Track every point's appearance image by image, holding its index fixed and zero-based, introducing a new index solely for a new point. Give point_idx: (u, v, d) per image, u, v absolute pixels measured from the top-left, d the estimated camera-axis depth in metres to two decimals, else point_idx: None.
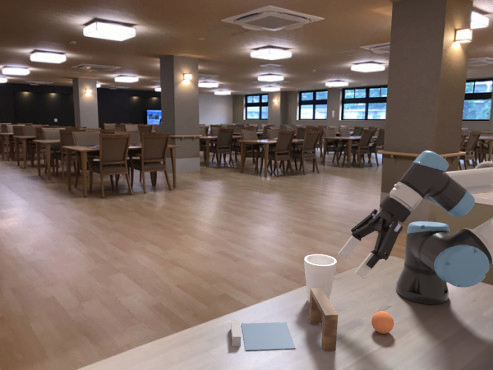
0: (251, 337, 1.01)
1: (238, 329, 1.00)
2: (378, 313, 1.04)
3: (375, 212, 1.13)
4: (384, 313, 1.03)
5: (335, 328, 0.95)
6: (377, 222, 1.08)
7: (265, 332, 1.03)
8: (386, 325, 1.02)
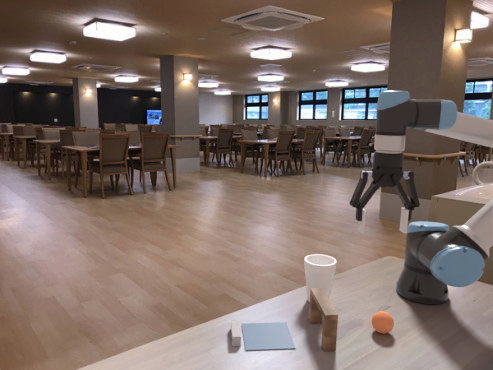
0: (251, 337, 1.01)
1: (238, 329, 1.00)
2: (378, 313, 1.04)
3: None
4: (384, 313, 1.03)
5: (335, 328, 0.95)
6: None
7: (265, 332, 1.03)
8: (386, 325, 1.02)
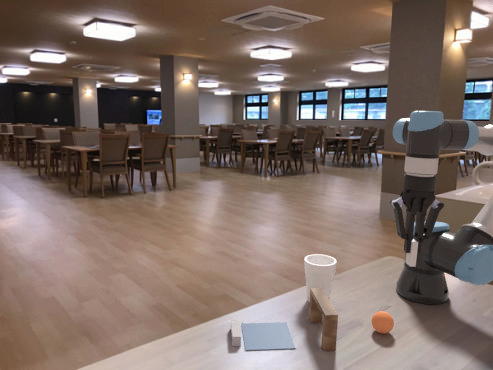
0: (251, 337, 1.01)
1: (238, 329, 1.00)
2: (378, 313, 1.04)
3: None
4: (384, 313, 1.03)
5: (335, 328, 0.95)
6: None
7: (265, 332, 1.03)
8: (386, 325, 1.02)
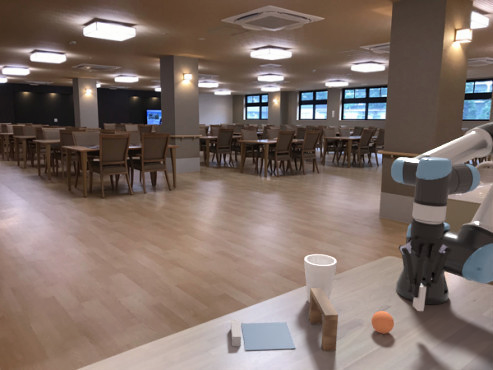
0: (251, 337, 1.01)
1: (238, 329, 1.00)
2: (378, 313, 1.04)
3: None
4: (384, 313, 1.03)
5: (335, 328, 0.95)
6: None
7: (265, 332, 1.03)
8: (386, 325, 1.02)
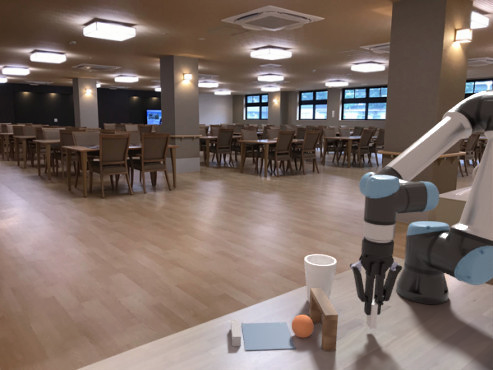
0: (251, 337, 1.01)
1: (238, 329, 1.00)
2: None
3: None
4: (293, 323, 1.01)
5: (335, 328, 0.95)
6: None
7: (265, 332, 1.03)
8: (302, 332, 0.99)
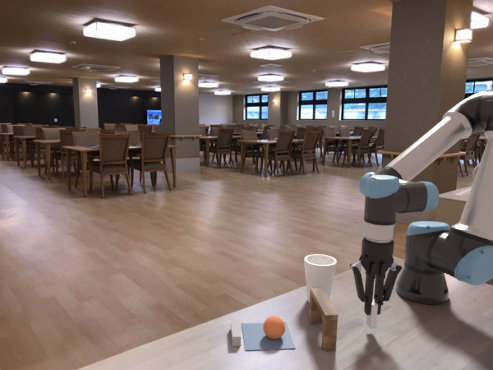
0: (251, 337, 1.01)
1: (238, 329, 1.00)
2: None
3: None
4: None
5: (335, 328, 0.95)
6: None
7: None
8: (278, 333, 0.98)
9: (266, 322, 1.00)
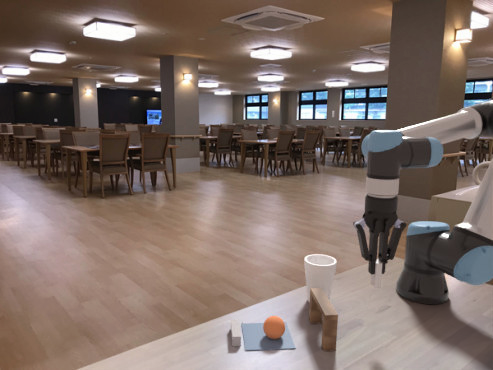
0: (251, 337, 1.01)
1: (238, 329, 1.00)
2: None
3: None
4: None
5: (335, 328, 0.95)
6: None
7: None
8: (278, 333, 0.98)
9: (266, 322, 1.00)
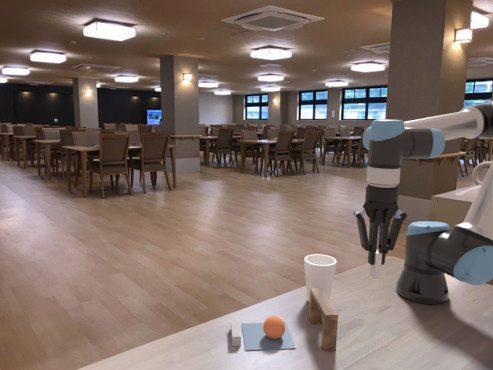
0: (251, 337, 1.01)
1: (238, 329, 1.00)
2: None
3: None
4: None
5: (335, 328, 0.95)
6: None
7: None
8: (278, 333, 0.98)
9: (266, 322, 1.00)
